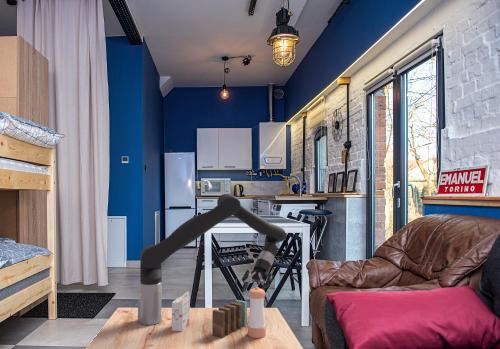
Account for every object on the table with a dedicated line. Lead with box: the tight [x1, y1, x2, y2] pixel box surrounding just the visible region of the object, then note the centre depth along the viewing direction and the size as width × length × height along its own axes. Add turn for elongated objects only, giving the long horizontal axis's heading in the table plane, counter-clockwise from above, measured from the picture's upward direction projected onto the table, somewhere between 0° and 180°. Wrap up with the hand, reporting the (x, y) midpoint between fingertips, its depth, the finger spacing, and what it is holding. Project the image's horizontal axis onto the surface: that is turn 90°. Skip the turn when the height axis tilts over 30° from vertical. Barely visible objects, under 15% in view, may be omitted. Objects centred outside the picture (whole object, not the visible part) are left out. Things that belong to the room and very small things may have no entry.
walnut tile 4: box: [218, 306, 231, 336], centre depth 157 cm, size 2×5×10 cm, turn 57°
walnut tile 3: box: [223, 304, 237, 333], centre depth 160 cm, size 2×5×10 cm, turn 57°
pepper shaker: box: [247, 286, 267, 339], centre depth 155 cm, size 7×7×19 cm
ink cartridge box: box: [171, 290, 191, 332], centre depth 163 cm, size 9×5×15 cm, turn 168°
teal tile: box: [234, 299, 248, 327], centre depth 167 cm, size 2×5×10 cm, turn 57°
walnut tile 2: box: [229, 301, 243, 330], centre depth 164 cm, size 2×5×10 cm, turn 57°
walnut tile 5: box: [211, 309, 226, 339], centre depth 154 cm, size 2×5×10 cm, turn 57°
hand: (251, 292), depth 174 cm, fingers open, 8 cm apart
